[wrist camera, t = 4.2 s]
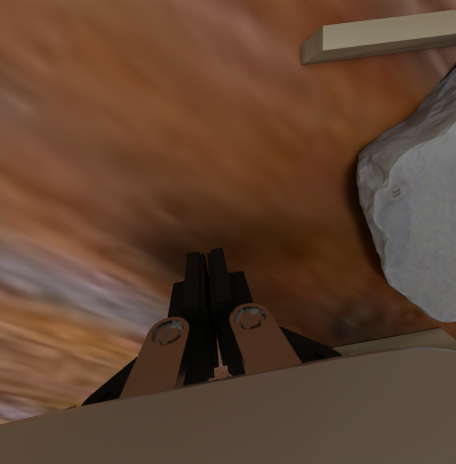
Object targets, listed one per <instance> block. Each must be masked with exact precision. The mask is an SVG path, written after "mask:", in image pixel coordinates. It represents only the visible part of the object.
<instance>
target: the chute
mask: <svg viewBox="0 0 456 464" xmlns="http://www.w3.org/2000/svg"><path fill="white" fill-rule="evenodd" d="M453 45H456V10H450V11H442V12H434V13H425V14H417V15H409V16H400V17H392V18H384V19H375V20H367V21H359V22H351V23H342V24H334V25H326V26H322V27H321V28H320V29H319V30H318V31H317V32H315V33H314V34H313V35H312V36H311V37H310V38H309V39H307V40H306V41H305V42H304V43H303V44H302V45H301V65H305V64H313V63H320V62H328V61H336V60H344V59H352V58H360V57H367V56H375V55H383V54H391V53H399V52H406V51H414V50H422V49H430V48H438V47H446V46H453ZM406 347H431V348H441V349H449V350H456V340H455V339H453V338H452V337H451V336H450V335H449V334H447V333H446V332H445V331H444V330H442V329H441V328H437V329H432V330H427V331H421V332H416V333H411V334H405V335H400V336H395V337H389V338H384V339H378V340H373V341H368V342H362V343H357V344H352V345H346V346H341V347H336V348H332V349H334V350H335V351H337V352H339V353H340V354H341V355H342V356H345V355H349V352H370V351H377V350H383V349H390V348H406Z"/></svg>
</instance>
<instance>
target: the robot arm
mask: <svg viewBox="0 0 456 464" xmlns="http://www.w3.org/2000/svg"><path fill="white" fill-rule="evenodd" d="M211 251H212V252H211V253H207V255H208V271H209V276H208V271H207V266H206V261H205V256H204V254H200V253H199V252H193V253H188V254H187V264H186V273H185V281H182V282H176V283H174V285H173V290H172V296H171V301H170V307H169V313H168V318H166V319H163V320H161V321H159V322H158V323H156V324H155V325H154V326H153V327H152V328H151V329H150V331H149V332H148V334H147V337H146V339H145V341H144V343H143V346H142V348H141V350H140V352H139V355H138V356H137V357H136V358H135V359H134V360H133V361H131V362H130V363H129V364H128V365H127V366H125V367H124V368H123V369H122V370H121V371H119V372H118V373H117V374H116V375H114V376H113V377H112V378H111V379H110V380H108V381H107V382H106V383H105V384H104V385H102V386H101V387H100V388H99V389H98V390H96V391H95V392H94V393H93V394H92V395H90V396H89V397H88V398H87V399H86V400H85V401H84V403H83V404H82V405H81V406H80V407H76V405H74V406H71V407H69V408H66V409H64V410H61V411H56V412H51V413H46V414H42V415H38V416H33V417H29V418H25V419H21V420H17V421H13V422H8V423H4V424H0V464H456V350H449V349H441V348H431V347H406V348H390V349H383V350H377V351H370V352H349V355H345V356H342V355H341V354H340V353H339V352H337V351H335V350H334V349H332V348H330V347H327V346H325V345H322V344H320V343H318V342H315V341H313V340H311V339H308V338H306V337H304V336H301V335H299V334H297V333H294V332H292V331H290V330H287V329H285V328H283V327H280V326H278V324H277V323H276V321H275V320H274V318H273V316H272V315H271V313H270V312H269V310H268V309H267V308H266V307H264V306H262V305H260V304H256V303H253V301H252V297H251V294H250V291H249V288H248V285H247V281H246V278H245V275H244V272H243V271H239V272H234V273H227V268H226V263H225V258H224V253H223V248H217V249H211ZM216 334H217V336H216ZM217 339H218V344H219V349H220V354H221V359H222V364H223V366H226V365H227V366H228V371H229V373H230V374H231V375H233V376H232V377H227V378H221V379H216V380H211V381H208V380H209V379H210V378H214V368H216V367H219V361H218V349H217Z"/></svg>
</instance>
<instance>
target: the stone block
mask: <svg viewBox="0 0 456 464" xmlns="http://www.w3.org/2000/svg"><path fill="white" fill-rule="evenodd" d="M357 186H358V189H359V199H360V205H361V207H362V209H363V212H364V215H365V218H366V221H367V224H368V226H369V228H370V231H371V233H372V240H373V242H374V245H375V247H376V250H377V253H378V254H379V256H380V260H381V267H382V270H383V272H384V275H385V277H386V280H387V282H388V284H389V285H390V286H391V287H393V288H394V289H395V290H397V291H398V292H400V293H401V294H403V295H404V296H406V298H407V299H408V300H409V301H410V302H411V303H413V304H416V305H417V307H418V308H419V309H420V310H422V311H423V312H424V313H425V314H427V315H428V317H432V318H434V319H436V320H439V321H442V322H454V321H456V68H454V69H453V70H452V71H451V73H450V74H449V75H448V76H447V77H446V78H445V79H444V80H442V81H441V82H440V83H439V84H438V85H437V87H436V88H435V89H434V91H433V92H432V93H431V94H430V95H429V96H427V98H426V99H425V100H424V101H423V102H422V103H421V104H420V106H419V107H418V109H417V111H416V112H415V113H414V114H412V115H411V116H410V117H409V118H408V119H407V120H405V121H404V122H402V123H400V124H398V125H397V126H395V127H394V128H392V129H389V130H387V131H385V132H384V133H382V134H381V135H380V136H379V137H378V138H376V139H375V140H374V141H373V142H372V143H370V144H369V145H368V146H366V147H365V148H364V149H363V150H362V151H361V152H360V153H359V156H358V165H357Z"/></svg>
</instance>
